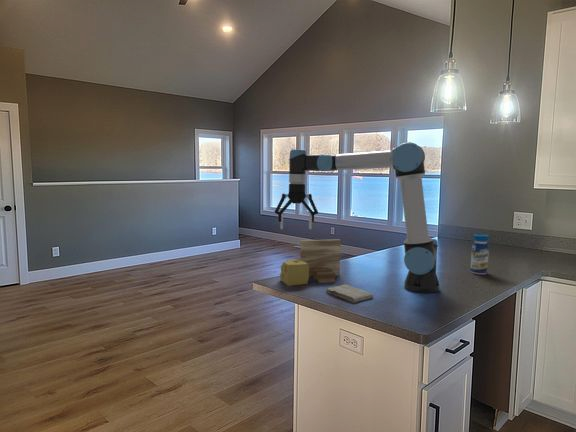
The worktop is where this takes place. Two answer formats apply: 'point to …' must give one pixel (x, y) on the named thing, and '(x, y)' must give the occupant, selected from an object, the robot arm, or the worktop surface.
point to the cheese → (294, 272)
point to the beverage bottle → (479, 254)
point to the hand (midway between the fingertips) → (295, 228)
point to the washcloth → (349, 293)
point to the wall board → (321, 258)
